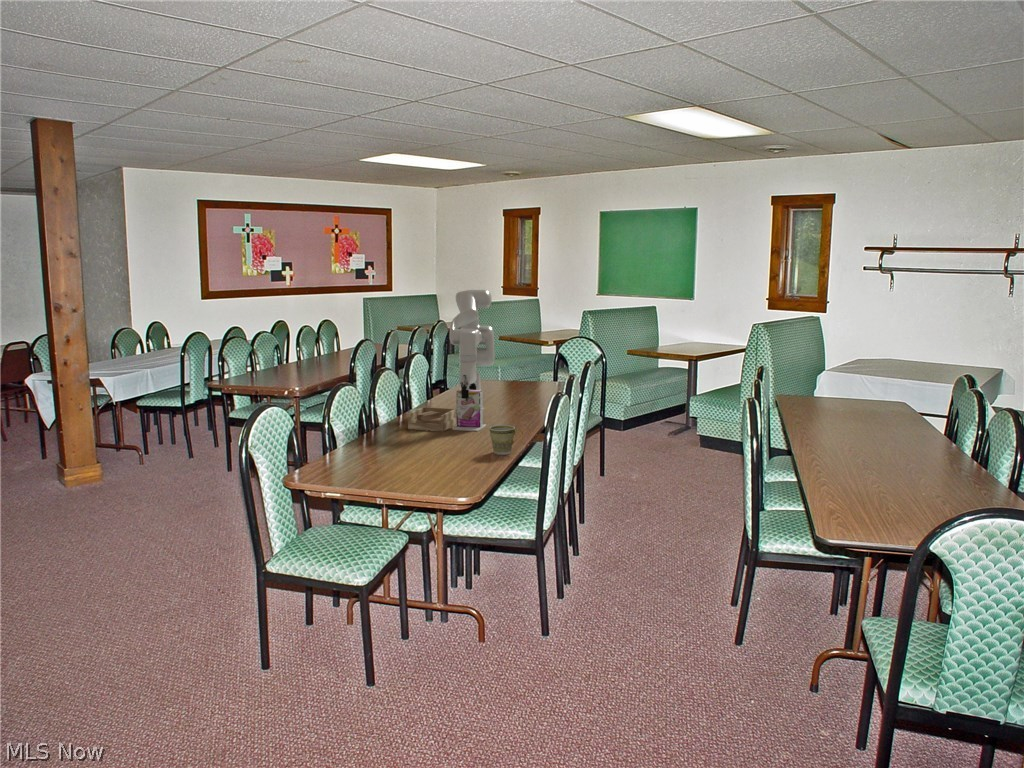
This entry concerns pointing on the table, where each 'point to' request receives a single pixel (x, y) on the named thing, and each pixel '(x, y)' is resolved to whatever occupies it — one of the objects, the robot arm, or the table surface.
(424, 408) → the rack
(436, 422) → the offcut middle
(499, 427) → the ceramic cup
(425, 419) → the offcut top
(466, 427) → the mat
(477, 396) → the candy bar box
